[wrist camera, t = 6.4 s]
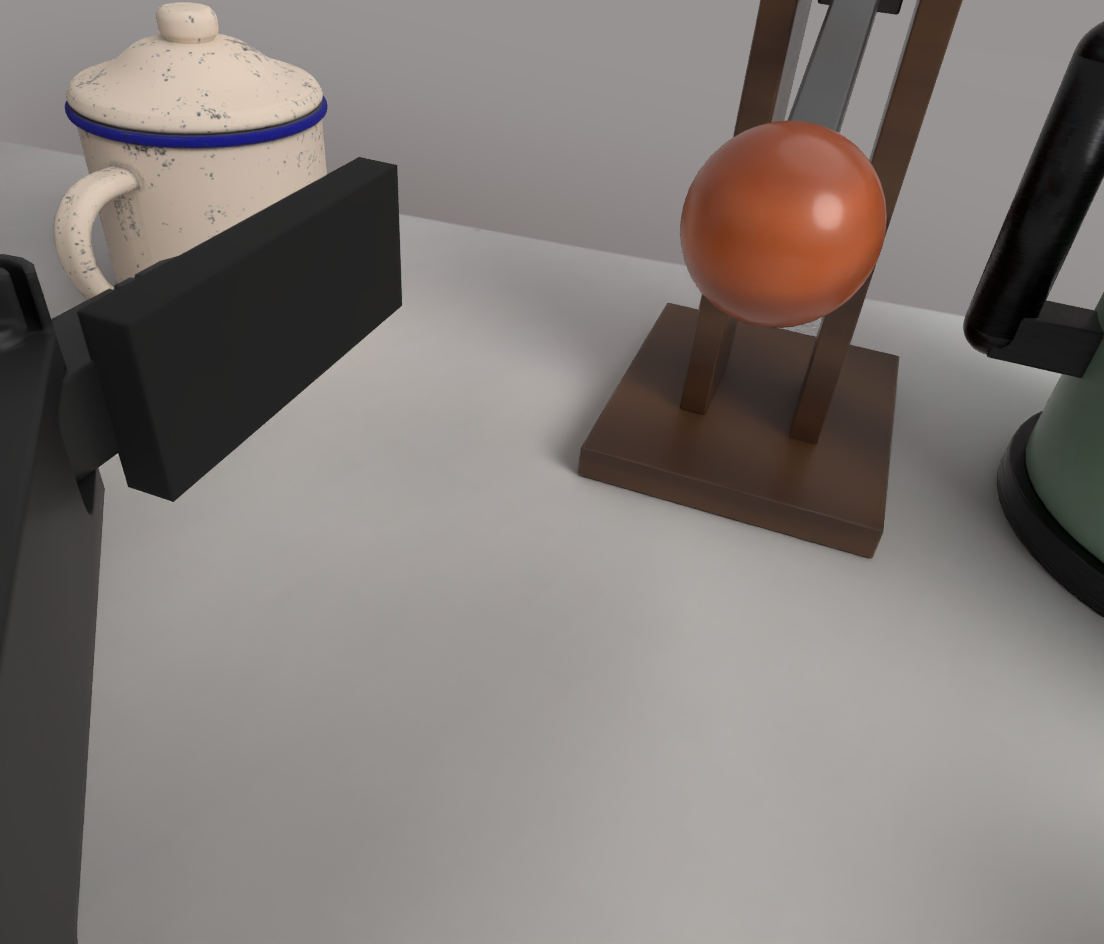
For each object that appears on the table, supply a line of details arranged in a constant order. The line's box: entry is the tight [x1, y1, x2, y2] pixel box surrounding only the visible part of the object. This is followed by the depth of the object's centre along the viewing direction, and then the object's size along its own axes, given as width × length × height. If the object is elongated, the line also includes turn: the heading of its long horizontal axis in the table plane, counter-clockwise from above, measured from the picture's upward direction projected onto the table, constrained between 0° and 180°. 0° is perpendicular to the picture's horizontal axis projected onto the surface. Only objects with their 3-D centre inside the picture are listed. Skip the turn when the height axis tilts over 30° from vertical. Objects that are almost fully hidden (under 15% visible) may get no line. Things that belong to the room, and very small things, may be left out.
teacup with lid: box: [53, 2, 327, 299], centre depth 33 cm, size 12×9×12 cm
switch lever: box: [680, 0, 903, 328], centre depth 20 cm, size 15×4×4 cm, turn 160°
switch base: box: [578, 0, 962, 558], centre depth 28 cm, size 12×10×18 cm
